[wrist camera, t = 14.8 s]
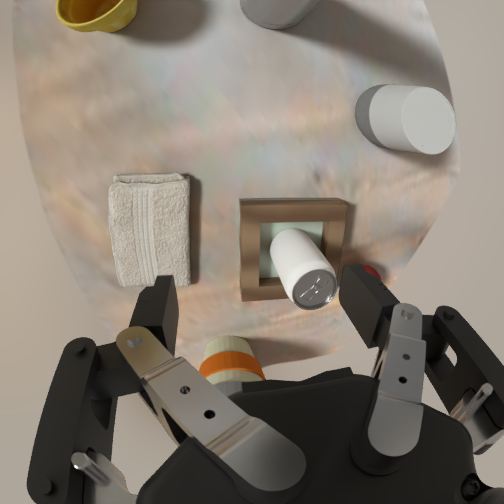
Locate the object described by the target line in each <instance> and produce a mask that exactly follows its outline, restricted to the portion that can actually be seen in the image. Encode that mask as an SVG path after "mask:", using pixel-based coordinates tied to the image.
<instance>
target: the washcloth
mask: <svg viewBox="0 0 504 504" xmlns="http://www.w3.org/2000/svg"><path fill="white" fill-rule="evenodd" d="M108 197H109V216H108V223H109V228H110V234H111V241H112V251H113V255H114V259H115V264H116V272H117V276H118V281H119V283H120V285H121V287H138V286H144V285H154V283H155V280H156V277H157V275H173V276H174V280H175V287H187V286H189V285H190V283H191V275H190V273H191V272H190V270H191V268H190V258H189V257H190V253H189V251H190V249H189V247H190V243H189V241H190V236H189V234H190V232H189V213H190V212H189V207H190V205H189V204H190V203H189V198H190V179H189V176H182V175H180V174H179V173H177V172H176V173H172V174H170V173H168V174H167V173H157V174H121V175H114V176H113V184H112V185H111V186H110V188H109V195H108Z"/></svg>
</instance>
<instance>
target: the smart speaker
mask: <svg viewBox="0 0 504 504" xmlns="http://www.w3.org/2000/svg"><path fill="white" fill-rule="evenodd" d="M355 118H356V122H357V125H358V127H359V129H360V131H361V132H362V134H363V135H364V136H365V137H366V138H367V139H368V140H369V141H371V142H372V143H374V144H376V145H378V146H381V147H384V148H389V149H394V150H402V151H410V152H417V153H423V154H438V153H441V152H443V151H444V150H446V149H447V148H448V147H449V146H450V144H451V142H452V141H453V138H454V135H455V130H456V119H455V114H454V111H453V109H452V106H451V104H450V103H449V101H448V100H447V99H446V97H445V96H444V95H443V94H441V93H440V92H439V91H437V90H435V89H433V88H430V87H423V86H411V85H396V84H386V85H378V86H374V87H372V88H370V89H368V90H366V91H365V92H364V93H363V94H362V95H361V96H360V97H359V99H358V101H357V104H356V108H355Z"/></svg>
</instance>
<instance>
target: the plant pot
mask: <svg viewBox="0 0 504 504" xmlns="http://www.w3.org/2000/svg"><path fill="white" fill-rule="evenodd" d="M136 12H137V0H57V2H56V15H57V18H58V19H59V21H60V22H61V23H62V24H64V25H65V26H67V27H69V28H71V29H73V30H76V31H79V32H93V31H102V32H114V31H118V30H120V29H122V28H124V27H125V26H127V25H128V24H129V23H130V22H131V21H132V20H133V18H134V17H135V15H136Z"/></svg>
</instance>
